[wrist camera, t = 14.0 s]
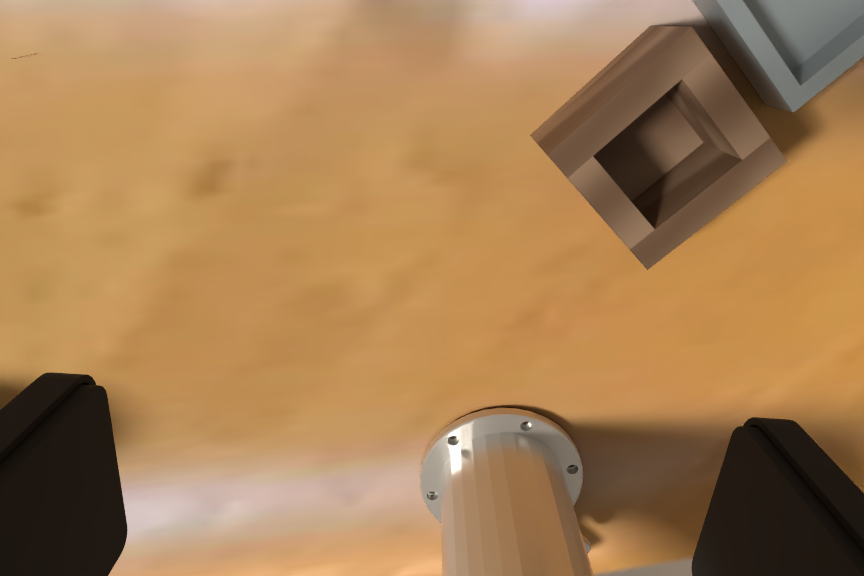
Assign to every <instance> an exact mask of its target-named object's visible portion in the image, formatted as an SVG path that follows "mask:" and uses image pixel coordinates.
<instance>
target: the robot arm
mask: <svg viewBox="0 0 864 576" xmlns="http://www.w3.org/2000/svg"><path fill="white" fill-rule="evenodd" d="M582 484H583V467H582V463H581V459H580V456H579V453H578V451H577V448H576V445H575V444H574V442H573V441H572V439H571V438H570V436H569V435H568V434H567V433H566V432H565V431H564V430H563V429H562V428H561V427H560V426H559V425H558V424H556V423H555V422H553V421H551V420H550V419H548V418H547V417H544V416H542V415H539V414H537V413H534V412H531V411H527V410H522V409H517V408H494V409H486V410H482V411H478V412H475V413H471V414H468V415H466V416H464V417H462V418H460V419H458V420H455V421H454V422H453V423H451V424H450V425H448V426H447V427H445V428H444V429H443V430H442V431H441V432H440V433H439V434H438V435H437V436H436V437H435V438H434V439H433V440H432V442H431V443H430V445H429V447H428V448H427V450H426V452H425V455H424V457H423V460H422V463H421V472H420V488H421V493H422V497H423V500H424V502H425V504H426V506H427V508H428V510H429V511H430V512H431V514H432V515H433V516H434V517H435V518H436V520H437V521H439V522H440V523H441V542H442V576H594V575H593V571H592V568H591V564H590V561H589V558H588V553H589V551H590V549H591V543H590V542H589V540H587V539H586V538H585V537H584V536H583V535H582V534H581V531H580V527H579V524H578V520H577V517H576V514H575V510H574V507H573V506H574V505H575V503H576V501H577V499H578V497H579V495H580V492H581V488H582ZM126 538H127V522H126V516H125V509H124V503H123V496H122V490H121V483H120V476H119V470H118V463H117V457H116V450H115V444H114V437H113V431H112V424H111V417H110V411H109V404H108V398H107V393H106V390H105V389H104V387H102V386H97V385H96V383H95V381H94V379H93V378H92V377H91V376H89V375H82V374H66V373H45V374H43V375H41V376H40V377H38V378H37V379H36V380H35V381H34V382H33V383H32V384H30V385H29V386H28V387H27V388H26V389H25V390H23V391H22V392H21V393H20V394H19V395H18V396H16V397H15V398H14V399H13V400H12V401H11V402H9V403H8V404H7V405H6V406H5V407H4V408H2V409H1V410H0V576H108V575H109V573H110V571H111V570H112V568H113V566H114V565H115V563H116V561H117V560H118V558H119V556H120V555H121V553H122V551H123V548H124V545H125V542H126ZM692 575H693V576H864V493H863V492H862V491H861V490H860V489H859V488H858V487H857V486H856V485H855V484H854V483H853V482H852V481H851V480H850V479H849V477H848V476H847V475H846V474H845V473H844V472H843V471H842V470H841V469H840V468H839V467H838V466H837V465H836V464H835V463H834V462H833V461H832V459H831V458H830V457H829V456H828V455H827V454H826V453H825V452H824V451H823V450H822V449H821V448H820V447H819V446H818V445H817V444H816V443H815V441H814V440H813V439H812V438H811V437H810V436H809V435H808V434H807V433H806V432H805V431H804V430H803V429H802V428H801V427H800V426H799V425H798V424H797V423H796V422H794V421H792V420H785V419H770V418H754V417H753V418H750V419H748V420H747V421H746V422H745V423H744V426H740V427H737V428H736V429H735V430H734V431H733V433H732V436H731V439H730V442H729V445H728V448H727V452H726V455H725V458H724V461H723V464H722V468H721V471H720V474H719V477H718V480H717V483H716V487H715V490H714V493H713V496H712V499H711V503H710V506H709V509H708V512H707V515H706V518H705V522H704V525H703V528H702V531H701V534H700V537H699V541H698V544H697V547H696V550H695V553H694V557H693V561H692Z"/></svg>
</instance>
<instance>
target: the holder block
mask: <svg viewBox="0 0 864 576" xmlns="http://www.w3.org/2000/svg"><path fill="white" fill-rule="evenodd" d="M530 136H531V137H532V138H533V139H534V140H535V141H536V143H537V144H538V145H539V146H540V147H541V148H542V150H543V151H544V152H545V153H546V154H547V155H548V156H549V158H550V159H551V160H552V161H553V162H554V163H555V164H556V166H557V167H558V168H559V169H560V170H561V171H562V173H563V174H564V175H565V176H566V177H567V178H568V179H569V181H570V182H571V183H572V184H573V185H574V186H575V187H576V189H577V190H578V191H579V192H580V193H581V194H582V196H583V197H584V198H585V199H586V200H587V201H588V202H589V204H590V205H591V206H592V207H593V208H594V209H595V210H596V212H597V213H598V214H599V215H600V216H601V217H602V219H603V220H604V221H605V222H606V223H607V224H608V225H609V227H610V228H611V229H612V230H613V231H614V232H615V233H616V235H617V236H618V237H619V238H620V239H621V240H622V241H623V243H624V244H625V245H626V246H627V247H628V248H629V249H630V251H631V252H632V253H633V254H634V255H635V256H636V257H637V259H638V260H639V261H640V262H641V263H642V264H643V265H644V267H645V268H646V269H647V270H648V269H649V268H651V267H652V266H653V265H654V264H656V263H657V262H658V261H660V260H661V259H662V258H663V257H665V256H666V255H667V254H669V253H670V252H671V251H672V250H674V249H675V248H676V247H678V246H679V245H680V244H682V243H683V242H684V241H685V240H687V239H688V238H689V237H691V236H692V235H693V234H694V233H696V232H697V231H698V230H700V229H701V228H702V227H703V226H705V225H706V224H707V223H709V222H710V221H711V220H712V219H714V218H715V217H716V216H718V215H719V214H720V213H721V212H723V211H724V210H725V209H727V208H728V207H729V206H730V205H732V204H733V203H734V202H736V201H737V200H738V199H739V198H741V197H742V196H743V195H745V194H746V193H747V192H748V191H750V190H751V189H752V188H754V187H755V186H756V185H757V184H759V183H760V182H761V181H763V180H764V179H765V178H766V177H768V176H769V175H770V174H772V173H773V172H774V171H775V170H777V169H778V168H779V167H781V166H782V165H783V164H784V163H786V162H787V160H786V158H785V157H784V155H783V154H782V153H781V151H780V150H779V148H778V147H777V146H776V144H775V143H774V141H773V140H772V139H771V137H770V136H769V134H768V133H767V132H766V130H765V129H764V127H763V126H762V125H761V123H760V122H759V120H758V119H757V118H756V116H755V115H754V113H753V112H752V111H751V109H750V108H749V106H748V105H747V103H746V102H745V101H744V99H743V98H742V96H741V95H740V94H739V92H738V91H737V89H736V88H735V87H734V85H733V84H732V82H731V81H730V80H729V78H728V77H727V75H726V74H725V73H724V71H723V70H722V68H721V67H720V66H719V64H718V63H717V61H716V60H715V59H714V57H713V56H712V54H711V53H710V52H709V50H708V49H707V47H706V46H705V45H704V43H703V42H702V40H701V39H700V38H699V36H698V35H697V33H696V32H695V31H694V29H693V28H692V27H685V26H650V27H649V28H648V29H647V30H645V31H644V32H643V33H642V34H641V35H640V36H639V37H638V38H637V39H636V40H634V41H633V42H632V43H631V44H630V45H629V46H628V47H627V48H626V49H625V50H623V51H622V52H621V53H620V54H619V55H618V56H617V57H616V58H615V59H614V60H612V61H611V62H610V63H609V64H608V65H607V66H606V67H605V68H604V69H603V70H602V71H600V72H599V73H598V74H597V75H596V76H595V77H594V78H593V79H592V80H591V81H589V82H588V83H587V84H586V85H585V86H584V87H583V88H582V89H581V90H580V91H578V92H577V93H576V94H575V95H574V96H573V97H572V98H571V99H570V100H569V101H567V102H566V103H565V104H564V105H563V106H562V107H561V108H560V109H559V110H558V111H556V112H555V113H554V114H553V115H552V116H551V117H550V118H549V119H548V120H547V121H545V122H544V123H543V124H542V125H541V126H540V127H539V128H538V129H537V130H536V131H534V132H533V133H532V134H531V135H530Z"/></svg>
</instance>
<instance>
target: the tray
mask: <svg viewBox="0 0 864 576" xmlns="http://www.w3.org/2000/svg"><path fill="white" fill-rule="evenodd" d="M693 2H694V3H695V5H696V6H697V8H698V9H699V10H700V12H701V13H702V15H703V16H704V18H705V19H706V20H707V22H708V23H709V25H710V26H711V28H712V29H713V30H714V32H715V33H716V35H717V36H718V37H719V39H720V40H721V42H722V43H723V45H724V46H725V47H726V49H727V50H728V52H729V53H730V55H731V56H732V57H733V59H734V60H735V62H736V63H737V65H738V66H739V67H740V69H741V70H742V72H743V73H744V75H745V76H746V77H747V79H748V80H749V82H750V83H751V85H752V86H753V87H754V89H755V90H756V92H757V93H758V95H759V96H760V97H761V99H762V100H763V102H764V103H765V104H766V106H769V107H773V108H777V109H781V110H785V111H789V112H793V113H794V112H795V111H796V110H798V109H799V108H800V107H801V106H803V105H804V104H805V103H806V102H808V101H809V100H810V99H811V98H813V97H814V96H815V95H816V94H818V93H819V92H820V91H821V90H823V89H824V88H825V87H826V86H828V85H829V84H830V83H831V82H833V81H834V80H835V79H836V78H838V77H839V76H840V75H841V74H843V73H844V72H845V71H846V70H848V69H849V68H850V67H851V66H853V65H854V64H855V63H856V62H858V61H859V60H860V59H861V58H863V57H864V0H693Z"/></svg>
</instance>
